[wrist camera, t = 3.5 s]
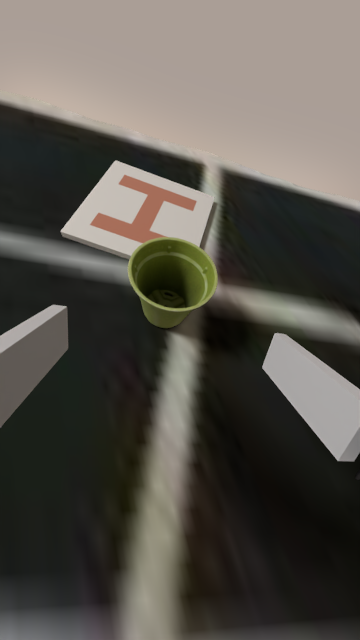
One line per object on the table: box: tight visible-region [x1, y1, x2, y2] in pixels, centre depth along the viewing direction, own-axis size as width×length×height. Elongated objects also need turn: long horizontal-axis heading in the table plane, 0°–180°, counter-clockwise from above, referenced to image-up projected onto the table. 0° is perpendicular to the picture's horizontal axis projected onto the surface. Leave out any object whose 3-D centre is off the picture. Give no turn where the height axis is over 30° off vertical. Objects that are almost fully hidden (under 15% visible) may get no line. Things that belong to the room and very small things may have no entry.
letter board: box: [61, 160, 215, 260], centre depth 35 cm, size 20×20×1 cm
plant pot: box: [128, 237, 218, 328], centre depth 25 cm, size 9×9×9 cm
